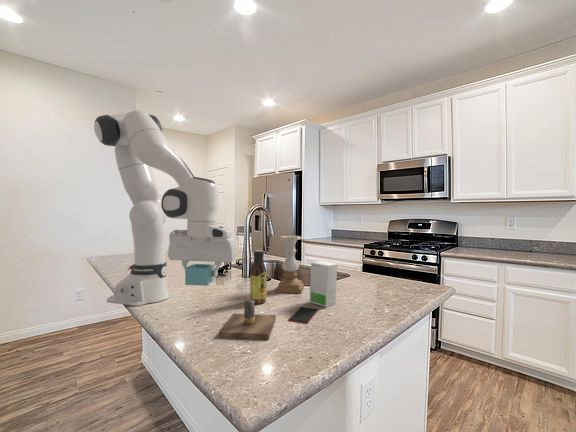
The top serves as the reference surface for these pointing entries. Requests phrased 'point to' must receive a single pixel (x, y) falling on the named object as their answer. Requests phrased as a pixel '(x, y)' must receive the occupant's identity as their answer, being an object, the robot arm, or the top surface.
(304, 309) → the smartphone
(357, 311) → the top surface
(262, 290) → the sauce bottle
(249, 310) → the post stand
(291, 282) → the candle holder
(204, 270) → the teal collar
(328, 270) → the skincare box
